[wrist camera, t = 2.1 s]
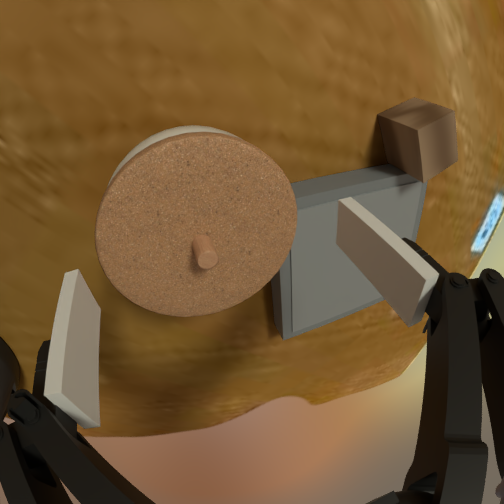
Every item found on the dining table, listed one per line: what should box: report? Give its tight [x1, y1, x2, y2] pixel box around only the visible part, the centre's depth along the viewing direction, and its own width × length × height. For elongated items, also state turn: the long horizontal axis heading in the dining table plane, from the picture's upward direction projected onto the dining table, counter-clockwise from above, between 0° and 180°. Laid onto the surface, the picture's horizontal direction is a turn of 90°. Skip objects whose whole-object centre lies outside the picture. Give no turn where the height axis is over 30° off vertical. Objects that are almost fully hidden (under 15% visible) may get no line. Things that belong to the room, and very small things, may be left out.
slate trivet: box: [271, 164, 427, 340], centre depth 29 cm, size 16×16×3 cm
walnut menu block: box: [377, 97, 458, 183], centre depth 23 cm, size 5×5×5 cm
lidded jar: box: [95, 125, 297, 317], centre depth 18 cm, size 11×11×9 cm
